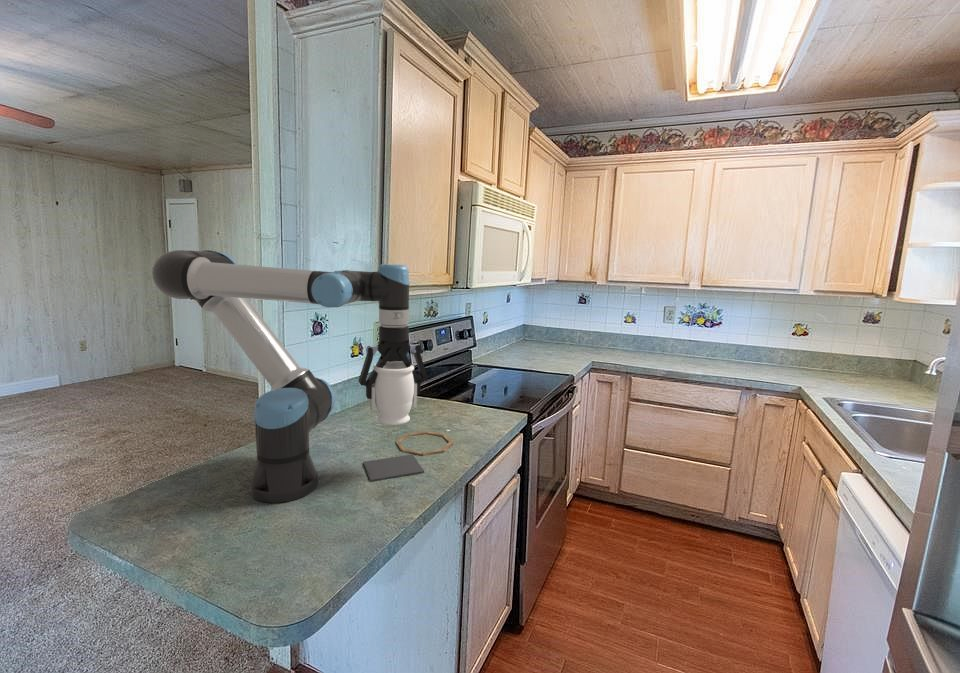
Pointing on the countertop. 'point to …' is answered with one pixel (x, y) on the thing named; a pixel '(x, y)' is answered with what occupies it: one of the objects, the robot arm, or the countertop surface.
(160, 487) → the countertop surface
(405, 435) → the cork ring
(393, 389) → the jar
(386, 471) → the mat
